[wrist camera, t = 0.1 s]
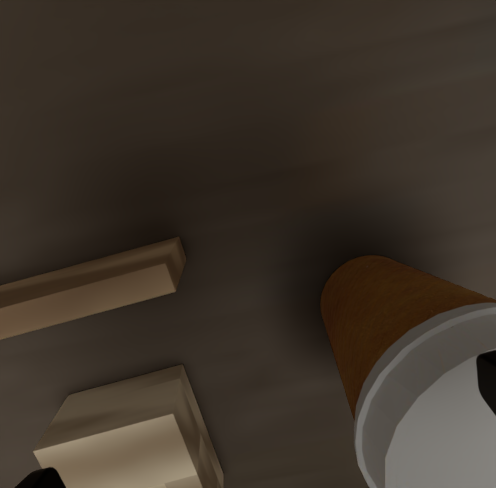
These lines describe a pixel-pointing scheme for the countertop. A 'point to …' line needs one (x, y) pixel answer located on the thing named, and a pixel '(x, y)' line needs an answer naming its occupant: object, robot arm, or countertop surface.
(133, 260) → the wall
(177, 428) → the block
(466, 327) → the disposable coffee cup
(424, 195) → the countertop surface
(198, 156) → the countertop surface
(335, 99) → the countertop surface
